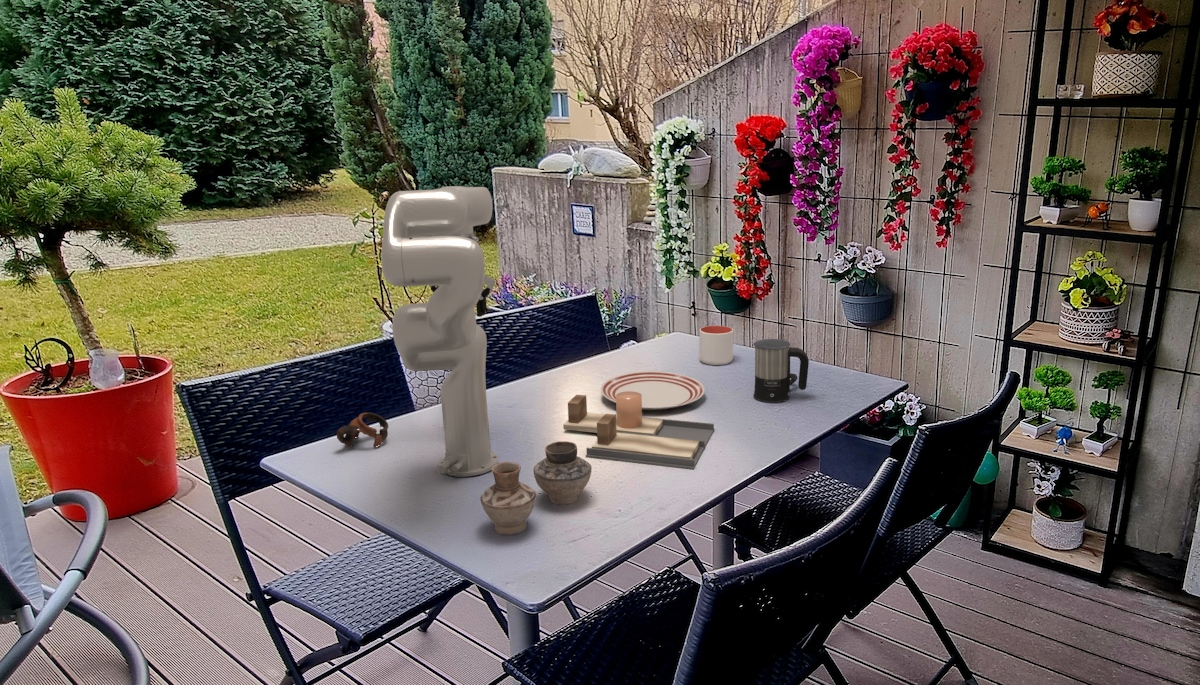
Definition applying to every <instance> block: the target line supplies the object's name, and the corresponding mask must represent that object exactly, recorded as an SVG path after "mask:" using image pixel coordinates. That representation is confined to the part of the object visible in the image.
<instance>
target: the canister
mask: <svg viewBox="0 0 1200 685" xmlns="http://www.w3.org/2000/svg"><path fill="white" fill-rule="evenodd" d="M615 406H616V407H615V408H616V409H615V410H616V413H615V415H617V425H618V426H619V427H621V428H637V427H639V426H641V425H642V417H643V410H642V395H641V394H640V393H638V392H632V391H627V392H621V393H618V394H617V395H616V403H615Z"/></svg>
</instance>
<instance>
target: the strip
mask: <svg viewBox="0 0 1200 685" xmlns="http://www.w3.org/2000/svg"><path fill="white" fill-rule="evenodd" d="M604 414H605V415H604V416H603V417H602V418H601V419H600V420H599V421H598V422H597V433H596V434H597V435H596V436H597V437H596V438H597V440H596V441H595V443H593V445H592V446H591V448H596V449H605V450H614V451H623V452H632V453H641V454H650V455H659V456H668V457H677V458H686V459H692V458H693V457H694V455H695V453H696V451H697V449H698V448H699V441H694V440H684V439H675V438H665V437H655V436H645V435H636V434H626V433H617V431H616V415H617V414H616V413H615V414H614V413H604Z"/></svg>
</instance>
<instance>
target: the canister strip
mask: <svg viewBox="0 0 1200 685" xmlns="http://www.w3.org/2000/svg"><path fill="white" fill-rule="evenodd" d="M587 401H588V400H587V395H586V394H575V395H574V396H573V397H571V399H570V400H569V401H568V402H567V416H568V419H567V420H566V421H565V422H564V423H563V430H566V431H578V432H587V433H596V434H597V422H598V421H599V420H600V419H601V418H602V417H603V416H604V415H605V414H606V413H599V412H588V405H587ZM615 415H616V431H617V432H626V433H636V434H646V435H656V434H657V432H658V431H659V430H660V428H661V427H662V425H663V420H662V419H663V418H658V419H652V418H653V417H648V418H642V425H641V426H639V427H637V428H621V427H619V426H618V425H617V414H615Z"/></svg>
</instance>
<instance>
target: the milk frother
mask: <svg viewBox="0 0 1200 685" xmlns="http://www.w3.org/2000/svg"><path fill="white" fill-rule="evenodd" d="M752 345H753V346H754V349H755V351H754V353H755V354H754V391H753V394H752V396H753V398H754V399H755V400H757V401H759V402H761V403H762V402H763V403H771V404H772V403H773V404H774V403H783V402H785V401H788V400H789V398H790V395H789V393H790V389H791V387H790V386H792V385H793V384H794V383H795V382H796V381H797V380H798V385H797V386H798V389H799V390H801V391H804V390H806V388H807V385H808V384H807V383H808V376H809V375H808V374H809V364H810V362H809V360H810V359H809V356H808V354H807V352H805V351H804V350H803V349H802V348H798V347H791V342H790V341H789V340H784V339H780V338H764V339H759V340H756V341H755V342H754V343H753V344H752ZM791 357H793V358H794V357H796V358H798V359H799V361H800V363H799V373H798V375H797V374H795V373H792V372H791Z"/></svg>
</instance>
